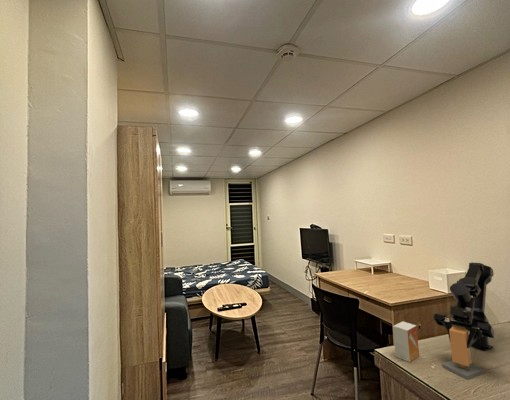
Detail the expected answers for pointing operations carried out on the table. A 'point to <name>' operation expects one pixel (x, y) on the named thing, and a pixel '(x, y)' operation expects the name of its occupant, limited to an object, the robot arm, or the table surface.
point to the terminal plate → (463, 369)
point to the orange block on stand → (460, 346)
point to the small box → (406, 341)
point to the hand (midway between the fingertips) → (459, 345)
